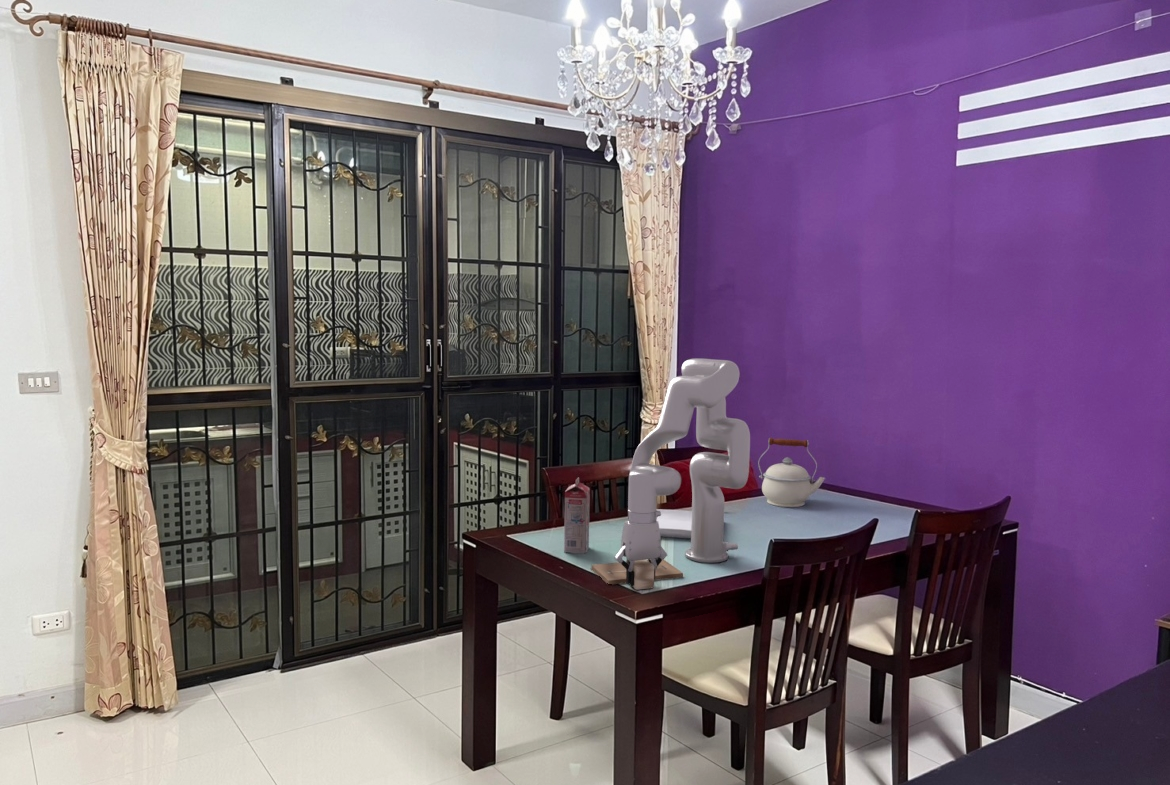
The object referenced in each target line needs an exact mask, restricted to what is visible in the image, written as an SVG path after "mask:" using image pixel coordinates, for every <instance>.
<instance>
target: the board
mask: <svg viewBox="0 0 1170 785" xmlns="http://www.w3.org/2000/svg"><path fill="white" fill-rule="evenodd" d="M646 560H647V561H648V559H646ZM590 569H591V571H593V573H595V575H597V576H598V577H599V576H600V577H601V578H602V581H604V582H605V584H607V583H608V584H612V585H620V584H619V583H622V584H628V582H627V581H626V568H625V567H624V566H623V565H622V564H620V563H619V562H618V561H617V562H610V563H609V562H608V563H600V564H599V563H598V564H591V565H590ZM601 578H600V579H601ZM680 578H684V573H683V572H682V571H681V570H679V569H678V568H676V566H674V565H672V564H671V563H670V562H668V561H667V560H666V559H665V558H664V559H663V560H662V561H661V563H660V564H659V565H658V566H657V569H655V580H654V581H659V580H660V581H662V580H669V579H670V580H671V579H680ZM617 583H618V584H617ZM608 584H607V585H608Z"/></svg>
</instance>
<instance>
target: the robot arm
mask: <svg viewBox="0 0 1170 785" xmlns="http://www.w3.org/2000/svg"><path fill="white" fill-rule="evenodd" d="M739 378H740V369H739V366H738V364H736V363H735V362H734V361H731V360H727V359H712V358H690V359H687V360H685V361H684V362H683V363H682V365H681V375H677V376H675V377H673V378H672V379H671V380H670V382H669V383H668V386H667V390H666V395H665V398H664V401H663V405H662V407H661V408H662V409H661V412H660V415H659V419H658V423H657V426H656V427H655V428H654V429H652V430H651V432H649V433H648V434H646V436H645V437H644V438H643V440H642V441H641V442H640V443H639V444H638V446H637V447H636V449H635V451H634V455H633V458H632V461H631V465H630V468H629V475H628V492H627V493H628V494H627V495H628V497H627V498H628V499H627V500H628V501H627V506H628V507H627V520H624V524H623V528H622V532H621V539H620V541H621V543H620V549H619V551H618V553H616V555H615V557H614V560H615V561H617V563H618V562H619V563H620V564H622V565H623V566H624V567H625V568H626V581H627V582H628V583H627V584H628V585H629V586H631V587H633V586H634V571H633V567H634V563H635V560H648V561H649V562H650V563H651V564H653V565H654V581H656V580H655V569H657V566H658V565H659V564H660V563H661V561H662V560H663V559H664V560H665V558H666V557H668V553H667V552H666V550H665V549H664V548H663V547H662V539H661V538H662V536H660V529H659V523H658V521H657V517H658V516H661V512H660V511H657V510H656V509H657V503H658V502H657V498H658V496H671V495H673V494H676V492H678V490H679V489H680V488H681V486H682V485H681V484H682V476H681V474H680V472H679V471H678V470H676V469H675V468H672V467H669V466H662V465H659V464H657V465H656V464H651V460H652V458H653V457H654V454H655V453H656V452H657V451H658V450H659V449H661V448H662V447H663V446H665V445H668V444H670V443H673V442H674V441H678V440H680V439H683V438H685V437H686V436H687V435H688V433H689V430H690V425H691V422H692V418H693V414H694V410H695V408H696V417H695V418H696V424H695V436H696V442H697V443H698V445H699V446H700V447H702V448H703V447H704V448H708V449H713V450H720V451H727V454H724V453H720V452H719V453H717V452H710V451H703V452H697V453H696V454H694V455H693V456H692V458H691V460H690V463H689V476H690V480H691V482H690V483H691V492H692V494H691V495H692V498H691V499H692V500H691V501H692V502H691V511H692V524H691V538H690V548H689V549H687V550H685V554H684V555H685V557H686V558H687V559H688V560H691V561H694V562H698V563H707V564H711V563H712V564H713V563H714V564H715V563H716V564H717V563H722V562H725V561H727V560H728V558H729V554H728V552H729V551H730V550H731V551H734V550H736V551H737V550H738V548H739V545H738V543H737V542H734V543H730V542H729V541H727V542H726V541H724V529H725V528H724V527H725V526H724V525H725V524H724V523H725V497H724V494H723V491H722V489H721V488H726V489H733V490H740V489H742V488H744V487H745V486H746V484H747V482H748V480H749V479H748V478H749V476H750V475H749V474H750V454H751V453H750V452H751V433H750V432H751V431H750V429H749V426H748V424H747V423H746V421H745V420H742V419H739V418H734V417H733V418H731V417H727V401H726V397H727V396H729V394H730V393H731V392H732V391H733V390H734V389H735V388H736V386H737V385H738V383H739V380H740V379H739ZM623 557H624V558H625V559H626V560H624V559H623Z"/></svg>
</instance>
